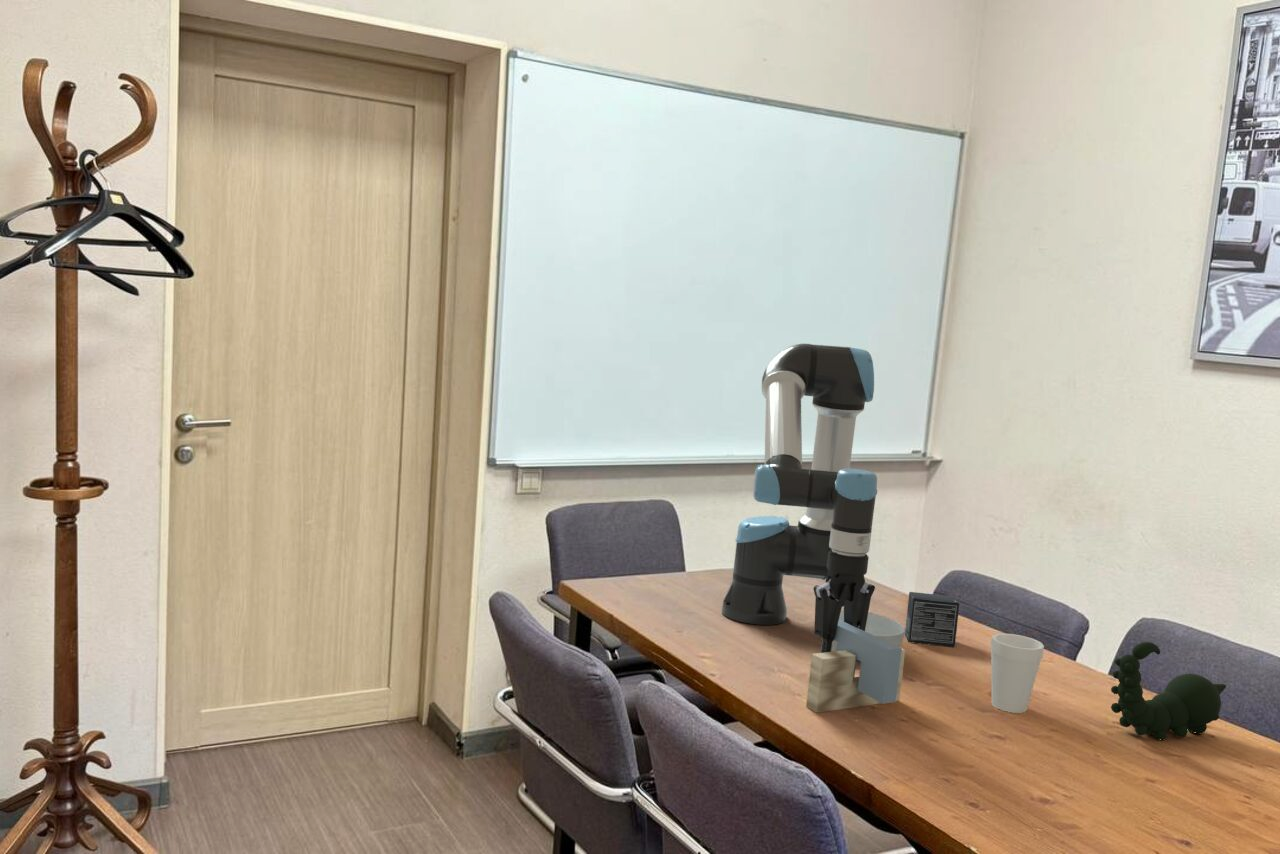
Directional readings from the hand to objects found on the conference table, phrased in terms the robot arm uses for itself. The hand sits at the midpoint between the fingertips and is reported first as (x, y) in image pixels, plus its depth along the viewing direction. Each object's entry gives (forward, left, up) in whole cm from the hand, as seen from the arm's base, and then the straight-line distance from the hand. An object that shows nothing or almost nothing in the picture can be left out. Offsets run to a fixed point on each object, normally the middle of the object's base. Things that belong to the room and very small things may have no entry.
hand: (835, 671), depth 205 cm
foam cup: (+29, +18, -4) cm, 34 cm away
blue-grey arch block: (+5, -3, -1) cm, 6 cm away
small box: (+5, +49, -4) cm, 49 cm away
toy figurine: (+56, +25, -4) cm, 61 cm away
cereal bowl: (-4, +28, -4) cm, 28 cm away
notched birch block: (+5, -3, -4) cm, 7 cm away
